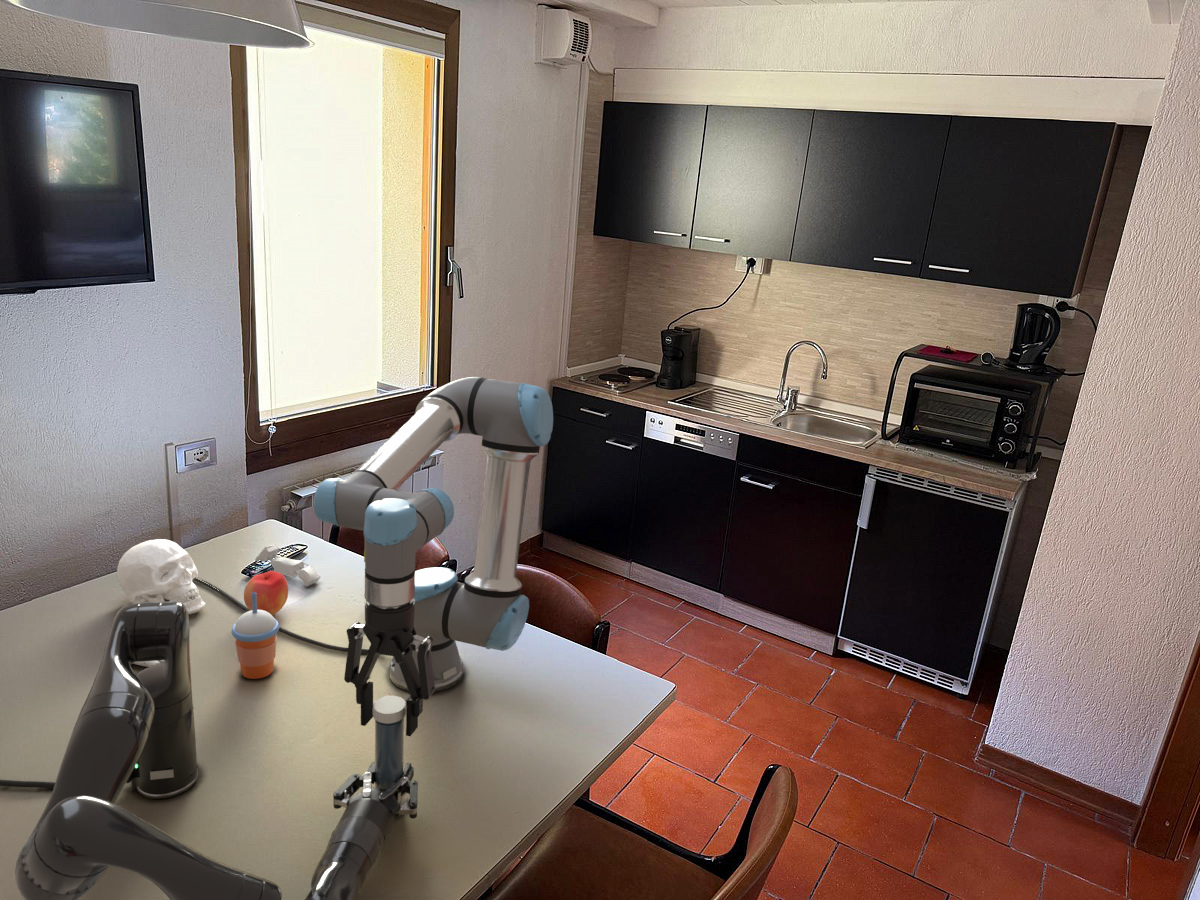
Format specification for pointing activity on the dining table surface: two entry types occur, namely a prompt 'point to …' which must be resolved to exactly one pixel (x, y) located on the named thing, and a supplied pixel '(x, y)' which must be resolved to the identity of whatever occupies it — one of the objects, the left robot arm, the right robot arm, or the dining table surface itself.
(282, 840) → the dining table surface
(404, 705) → the lid
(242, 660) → the cup with straw
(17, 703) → the dining table surface
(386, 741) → the jar
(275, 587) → the apple
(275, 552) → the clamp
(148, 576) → the skull
